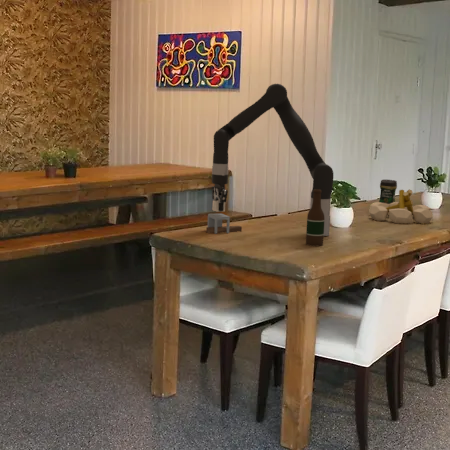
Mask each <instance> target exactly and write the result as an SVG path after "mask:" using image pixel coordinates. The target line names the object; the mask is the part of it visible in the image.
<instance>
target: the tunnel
mask: <svg viewBox="0 0 450 450" xmlns="http://www.w3.org/2000/svg"><path fill="white" fill-rule="evenodd" d="M224 220H226V226H227V229H226V232H225V233H226V234H230V232H229V226H231V225H230V223H231V222H230V221H231V216H229V215H226V214H224V213H221V212H220V213H208V214H207V227H215V229H214V233H213V234H218V233H217V227H223V221H224ZM207 227H206V228H207Z"/></svg>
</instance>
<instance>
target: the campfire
mask: <svg viewBox="0 0 450 450" xmlns="http://www.w3.org/2000/svg"><path fill="white" fill-rule="evenodd" d="M412 194H413V190H411V189H408V190H406V191H405V190H404V189H399V191H398V195H399V196H398V198H399V199H398V200H399V201H395V202H393V203H391V204H386V203H381V202H379V201H375V202H373V203H371V204H370V205H369V210H368V214H369V215H370V218H371V219H372V220H373V219H374V221H376V220H377V221H376V222H384V221H386V219H387V217H388V220H390V221H391V222H392V223H394V224H399V223H408V224H410V223H413V222H417V223H416V224H420V223H426V224H430V222H431V221H432V220H433V217H434V216H433V211H432V209H431V207H429V206H427V205H424V204H415V205H414V201H413V200H412V199H411V195H412ZM413 219H414V220H413Z"/></svg>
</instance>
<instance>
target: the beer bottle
mask: <svg viewBox="0 0 450 450" xmlns="http://www.w3.org/2000/svg"><path fill="white" fill-rule="evenodd" d="M313 192H314V195H313V203H312V208H311V209H310V208H309V210H308V213H307V217H306V232H305V233H306V234H305V244H306V245H308V246H310V247H314V246H315V247H321V246H323V245H324V237H325V236H324V213H323V211H322V209H321V192H322V191H321V190H320V189H314V190H313Z"/></svg>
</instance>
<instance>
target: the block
mask: <svg viewBox="0 0 450 450" xmlns="http://www.w3.org/2000/svg"><path fill="white" fill-rule="evenodd" d="M211 210H212V211H213V212H218V213H219V212H220V213H221V212H226V202H224V208H223V211H219V200H214V199H213V200H212V209H211Z"/></svg>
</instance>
